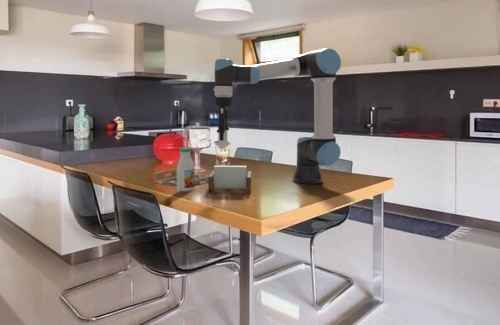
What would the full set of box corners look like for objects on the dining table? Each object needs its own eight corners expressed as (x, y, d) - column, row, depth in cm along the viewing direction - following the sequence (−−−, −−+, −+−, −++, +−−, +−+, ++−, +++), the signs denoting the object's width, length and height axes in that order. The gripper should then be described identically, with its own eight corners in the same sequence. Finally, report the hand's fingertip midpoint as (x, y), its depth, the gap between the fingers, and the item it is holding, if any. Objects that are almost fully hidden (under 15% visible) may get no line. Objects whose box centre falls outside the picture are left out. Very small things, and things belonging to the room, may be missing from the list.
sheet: (246, 190, 176) (246, 165, 174) (246, 192, 172) (246, 167, 170) (214, 189, 176) (214, 165, 174) (213, 191, 172) (213, 166, 171)
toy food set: (153, 183, 198) (153, 168, 197) (178, 178, 213) (178, 164, 212) (193, 189, 185) (193, 173, 183) (216, 183, 200) (216, 168, 199)
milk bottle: (177, 194, 172) (177, 149, 169) (176, 191, 180) (175, 147, 177) (195, 194, 174) (195, 148, 171) (193, 190, 182) (192, 146, 179)
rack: (251, 189, 185) (251, 171, 184) (250, 197, 170) (250, 177, 168) (212, 188, 186) (212, 170, 184) (208, 196, 170) (208, 176, 169)
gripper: (217, 97, 180) (217, 143, 183) (211, 95, 156) (211, 149, 159) (233, 97, 180) (233, 143, 183) (230, 96, 156) (229, 150, 159)
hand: (223, 146), depth 171 cm, fingers open, 13 cm apart
